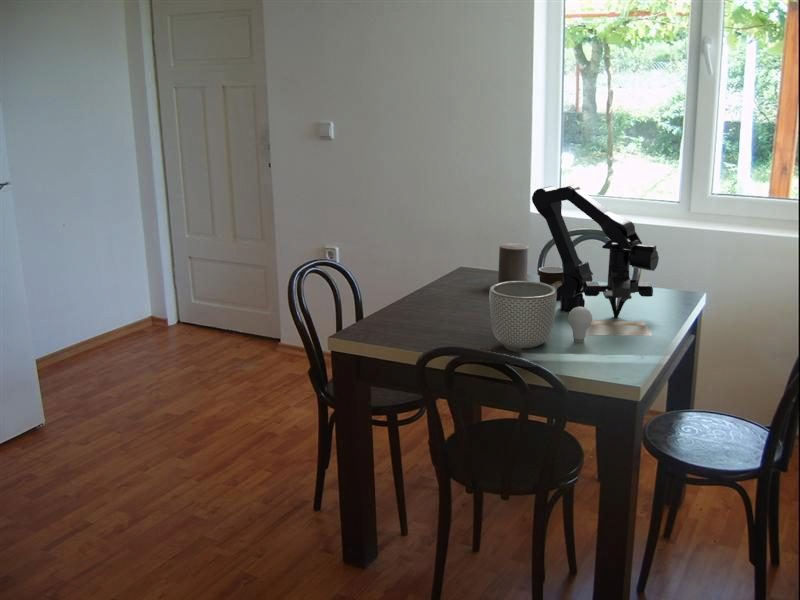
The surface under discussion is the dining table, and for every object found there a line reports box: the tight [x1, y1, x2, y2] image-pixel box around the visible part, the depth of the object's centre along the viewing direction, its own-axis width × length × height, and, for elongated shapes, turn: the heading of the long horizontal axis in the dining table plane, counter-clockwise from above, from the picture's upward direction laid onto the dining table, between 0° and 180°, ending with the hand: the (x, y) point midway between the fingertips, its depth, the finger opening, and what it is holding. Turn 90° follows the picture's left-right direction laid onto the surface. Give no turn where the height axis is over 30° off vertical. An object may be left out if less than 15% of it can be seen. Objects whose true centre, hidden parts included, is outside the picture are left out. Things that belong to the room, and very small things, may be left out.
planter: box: [488, 280, 557, 353], centre depth 215 cm, size 17×17×16 cm
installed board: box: [585, 325, 653, 337], centre depth 225 cm, size 20×9×2 cm, turn 84°
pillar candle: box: [497, 241, 530, 283], centre depth 276 cm, size 10×10×15 cm
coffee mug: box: [538, 266, 564, 302], centre depth 258 cm, size 12×9×10 cm
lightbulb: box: [567, 307, 593, 344], centre depth 215 cm, size 6×6×11 cm
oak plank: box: [590, 320, 646, 326], centre depth 234 cm, size 20×9×1 cm, turn 84°
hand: (615, 317), depth 237 cm, fingers closed, pressing on oak plank
